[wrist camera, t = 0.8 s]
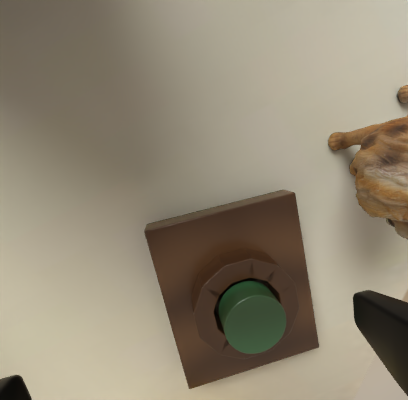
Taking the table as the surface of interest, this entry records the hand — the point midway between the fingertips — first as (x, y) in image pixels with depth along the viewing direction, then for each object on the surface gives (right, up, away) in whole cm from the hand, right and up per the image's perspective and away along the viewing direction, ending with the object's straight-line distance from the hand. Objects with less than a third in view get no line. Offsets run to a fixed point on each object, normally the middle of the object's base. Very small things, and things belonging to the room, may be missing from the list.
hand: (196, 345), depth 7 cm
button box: (+2, -2, +12) cm, 12 cm away
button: (+3, -3, +9) cm, 10 cm away
